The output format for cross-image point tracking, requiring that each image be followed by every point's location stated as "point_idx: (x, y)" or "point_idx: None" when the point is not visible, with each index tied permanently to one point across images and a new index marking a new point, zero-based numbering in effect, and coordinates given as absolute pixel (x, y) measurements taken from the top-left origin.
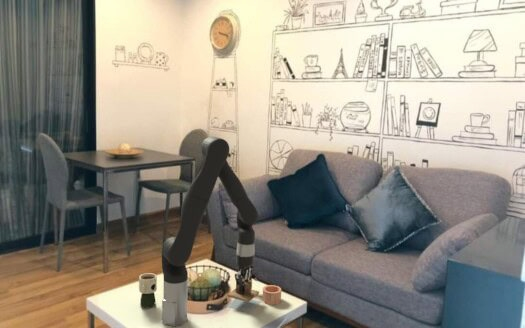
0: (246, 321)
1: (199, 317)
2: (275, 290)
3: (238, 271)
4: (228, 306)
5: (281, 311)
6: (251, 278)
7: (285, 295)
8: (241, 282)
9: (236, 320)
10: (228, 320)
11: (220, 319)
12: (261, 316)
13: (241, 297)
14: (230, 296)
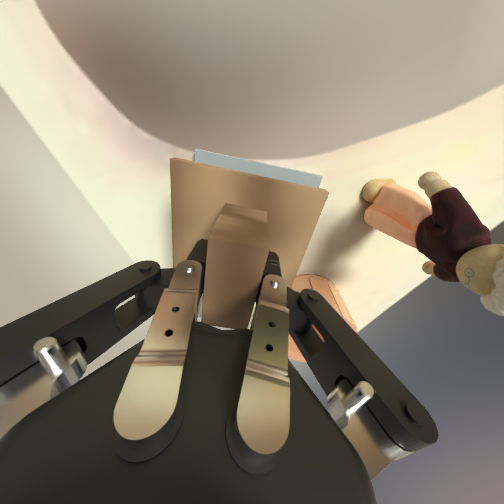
0: (143, 257)
1: (21, 21)
2: None
3: (22, 419)
4: (198, 161)
5: (249, 327)
6: (428, 256)
7: (356, 325)
8: (120, 321)
9: (128, 225)
10: (108, 197)
11: (91, 160)
12: None
13: (184, 249)
14: (173, 183)
